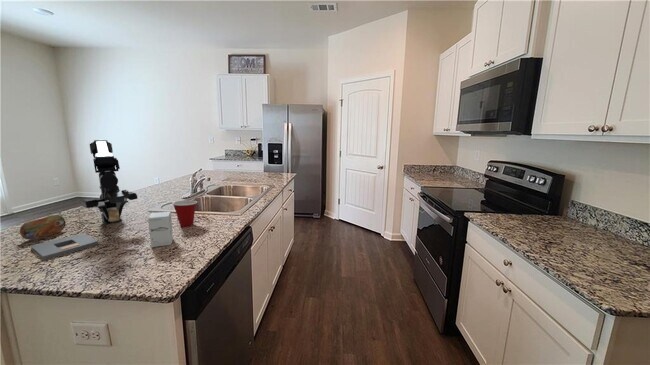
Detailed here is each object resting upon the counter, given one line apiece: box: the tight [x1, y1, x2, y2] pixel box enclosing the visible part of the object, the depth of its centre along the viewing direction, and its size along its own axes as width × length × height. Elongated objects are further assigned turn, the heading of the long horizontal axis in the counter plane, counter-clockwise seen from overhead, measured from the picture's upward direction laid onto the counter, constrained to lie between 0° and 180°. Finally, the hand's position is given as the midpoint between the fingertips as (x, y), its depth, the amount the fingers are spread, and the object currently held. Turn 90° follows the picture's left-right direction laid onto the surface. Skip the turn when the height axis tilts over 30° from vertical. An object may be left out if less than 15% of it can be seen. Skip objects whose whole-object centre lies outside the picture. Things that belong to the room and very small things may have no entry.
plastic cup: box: [172, 200, 198, 228], centre depth 131 cm, size 11×11×12 cm
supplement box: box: [147, 211, 174, 248], centre depth 110 cm, size 7×7×13 cm
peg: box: [107, 208, 121, 223], centre depth 118 cm, size 4×4×5 cm
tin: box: [19, 214, 66, 241], centre depth 116 cm, size 15×3×8 cm, turn 168°
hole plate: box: [30, 232, 100, 261], centre depth 106 cm, size 16×16×2 cm
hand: (113, 217), depth 119 cm, fingers closed on peg, 4 cm apart
